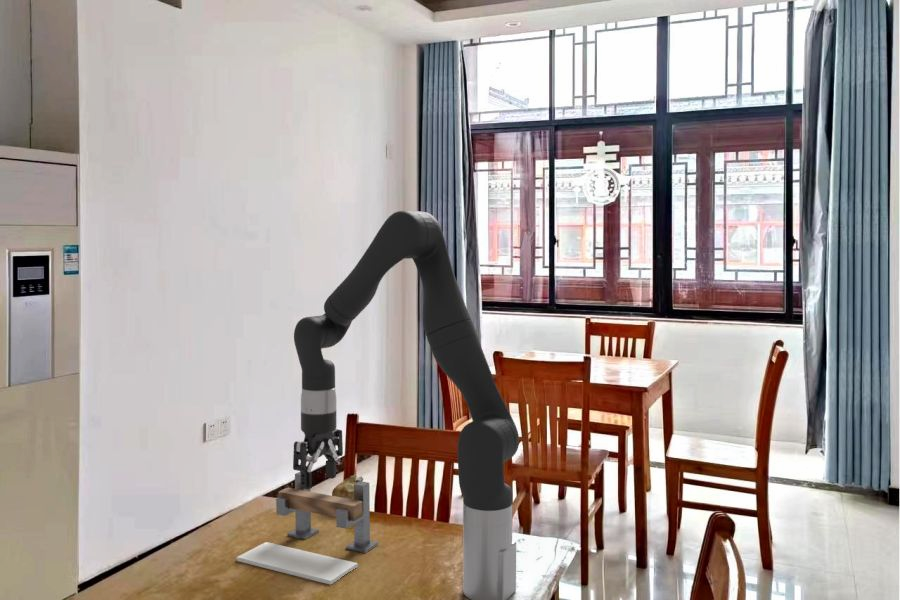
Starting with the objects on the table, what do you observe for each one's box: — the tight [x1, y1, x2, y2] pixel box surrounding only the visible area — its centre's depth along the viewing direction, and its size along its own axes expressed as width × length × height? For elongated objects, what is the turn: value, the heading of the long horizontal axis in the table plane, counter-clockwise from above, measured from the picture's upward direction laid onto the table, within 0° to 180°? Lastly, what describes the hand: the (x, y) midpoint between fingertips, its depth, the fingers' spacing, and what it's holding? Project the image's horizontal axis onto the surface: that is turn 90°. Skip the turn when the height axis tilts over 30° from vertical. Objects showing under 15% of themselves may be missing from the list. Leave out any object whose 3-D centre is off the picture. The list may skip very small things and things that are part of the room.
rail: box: [277, 487, 363, 521], centre depth 160 cm, size 20×3×3 cm, turn 63°
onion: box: [331, 474, 364, 500], centre depth 185 cm, size 8×8×8 cm
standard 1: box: [275, 471, 320, 540], centre depth 166 cm, size 5×10×14 cm, turn 153°
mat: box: [236, 541, 359, 586], centre depth 152 cm, size 24×9×1 cm, turn 63°
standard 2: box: [335, 481, 379, 554], centre depth 158 cm, size 5×10×14 cm, turn 153°
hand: (318, 483), depth 160 cm, fingers open, 8 cm apart
